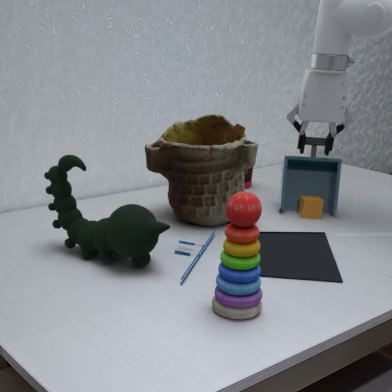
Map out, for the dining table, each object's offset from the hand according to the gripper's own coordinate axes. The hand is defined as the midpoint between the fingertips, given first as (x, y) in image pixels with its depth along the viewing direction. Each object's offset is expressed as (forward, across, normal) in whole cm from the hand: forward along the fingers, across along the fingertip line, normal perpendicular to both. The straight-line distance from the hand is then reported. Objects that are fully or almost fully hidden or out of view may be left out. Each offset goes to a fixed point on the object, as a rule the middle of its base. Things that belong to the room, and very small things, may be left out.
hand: (313, 152), depth 117 cm
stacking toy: (+14, +16, +53) cm, 57 cm away
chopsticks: (+14, +26, +33) cm, 44 cm away
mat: (+14, +6, +23) cm, 28 cm away
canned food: (+14, +17, -17) cm, 28 cm away
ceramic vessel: (+14, +26, +10) cm, 31 cm away
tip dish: (+7, 0, -2) cm, 7 cm away
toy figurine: (+14, +40, +37) cm, 56 cm away
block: (+12, 0, +3) cm, 12 cm away
